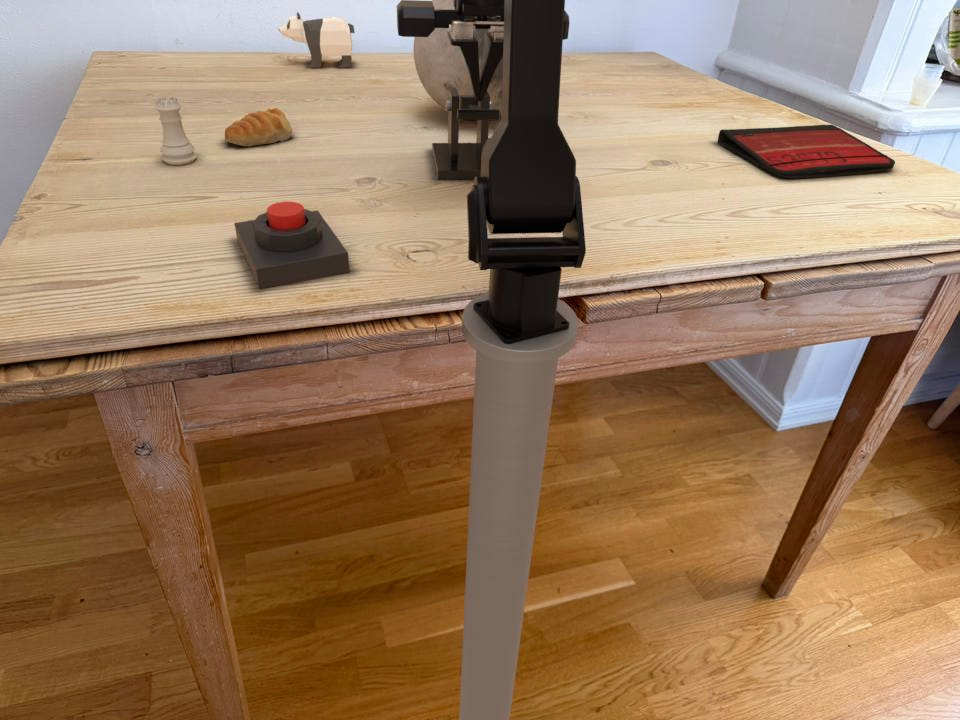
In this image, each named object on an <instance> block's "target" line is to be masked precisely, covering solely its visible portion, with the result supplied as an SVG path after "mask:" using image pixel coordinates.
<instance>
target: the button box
mask: <svg viewBox="0 0 960 720" xmlns="http://www.w3.org/2000/svg"><path fill="white" fill-rule="evenodd" d="M304 213H305V221H306V225H304V226H302V227H300V228H298V229H292V230H275V229H273V228H270V227H269V221H268V215H267V211H265V212H264V213H261V214H259V215H257V217H256V218H255V219H252V220H246V221H245V220H244V221H239V222H234V224H233V225H234V229H235V234H236V239H237V243H238V245H239V247H240V250H241V252H242V253H243V257H244V258H245V260H246V262H247V265H248V267H249V269H250V271H251V274H252V276H253V279H254V280H255V282H256V284H257V287H258V289H259V290H262V289H267V288H272V287H277V286H283V285H288V284H293V283H298V282H304V281H309V280H315V279H318V278H324V277H330V276H334V275H341V274H345V273H350V271H351V270H350V261H349V260H350V259H349V252H348V250H347V249H346V248H345V246H344V245H343V244H342V242H341V241H340V239H339V238H338V237H337V236H336V234H335V232H334V231H333V230H332V228H331V227H330V225H329V224H328V223H327V221H326V219H324V217H323V216H322V214H321V212H319V210H310V209H307V208H304Z"/></svg>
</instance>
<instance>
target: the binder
mask: <svg viewBox="0 0 960 720" xmlns="http://www.w3.org/2000/svg"><path fill="white" fill-rule="evenodd" d="M717 144H719V145H720V146H722V147H723V148H727V149H728V150H730V151H732V152H734V153H736V154H737V155H740V156H742V157H743V158H745V159H747V160H748V161H750V162H752V163H754V164H755V165H757V166H759V167H761V168H762V169H764V170H765V171H766V172H769V173H771V174H773V175H775V176H778V177H782V178H785V179H810V178H826V177H828V178H829V177H841V176H853V175H861V174H870V173H878V172H885V171H889V170H892V169H894V167H895V164H896V161H895V160H894V159H893V158H891V157H890V156H888V155H887V154H885V153H883V152H881V151H879V150H877V149H876V148H875V147H873V146H871V145H869V144H868V143H866V142H864V141H863V140H861V139H859V138H858V137H856V136H854V135H852V134H850V133H849V132H846V131H845V130H843V129H842V128H841V127H838V126H837V125H834V124H814V125H795V126H780V127H778V126H777V127H758V128H757V127H755V128H754V127H753V128H736V129H734V128H733V129H720V130H719V132H718V137H717Z"/></svg>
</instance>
